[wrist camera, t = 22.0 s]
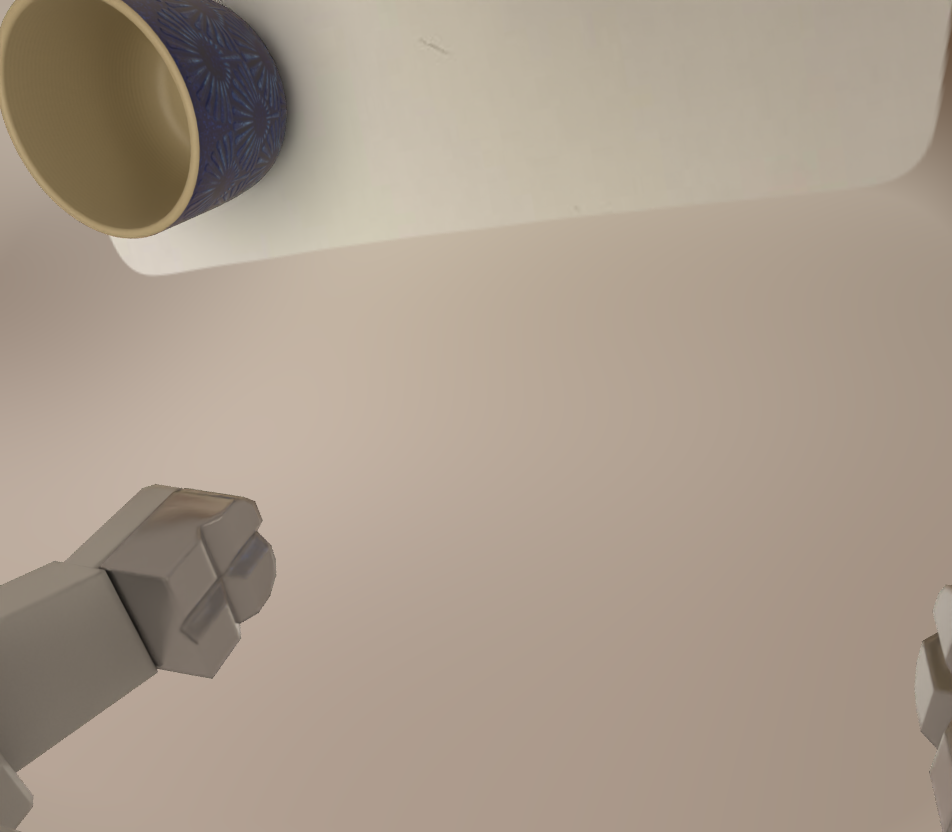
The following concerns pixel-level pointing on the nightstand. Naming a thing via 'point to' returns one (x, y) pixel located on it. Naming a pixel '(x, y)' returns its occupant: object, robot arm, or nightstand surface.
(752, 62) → the nightstand surface
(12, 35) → the planter
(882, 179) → the nightstand surface
